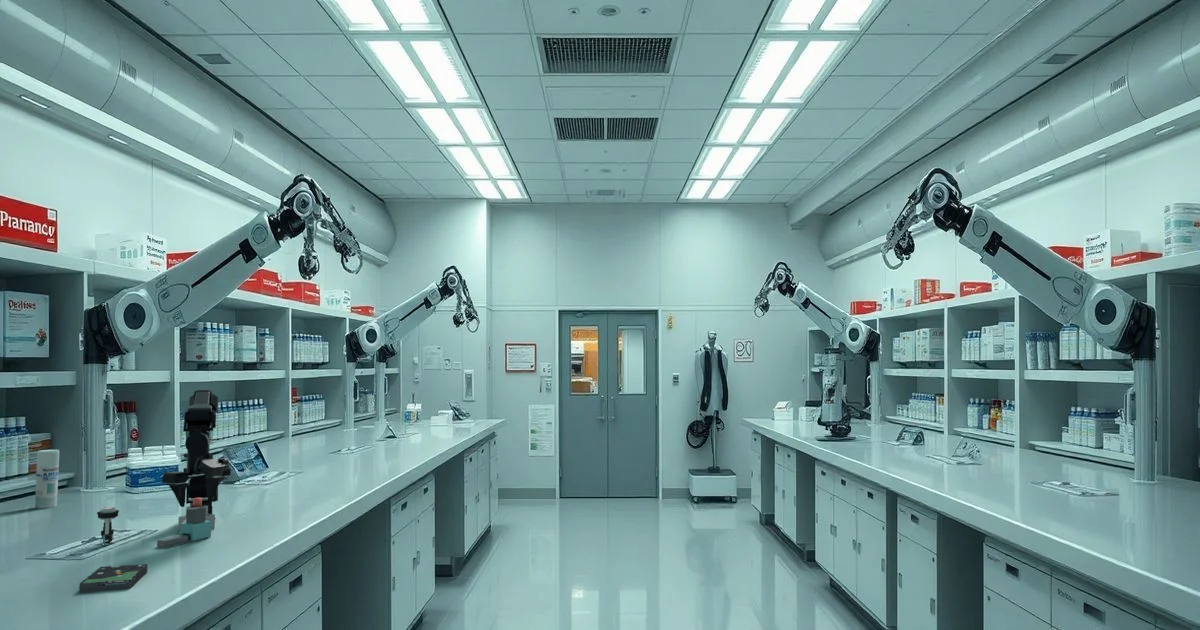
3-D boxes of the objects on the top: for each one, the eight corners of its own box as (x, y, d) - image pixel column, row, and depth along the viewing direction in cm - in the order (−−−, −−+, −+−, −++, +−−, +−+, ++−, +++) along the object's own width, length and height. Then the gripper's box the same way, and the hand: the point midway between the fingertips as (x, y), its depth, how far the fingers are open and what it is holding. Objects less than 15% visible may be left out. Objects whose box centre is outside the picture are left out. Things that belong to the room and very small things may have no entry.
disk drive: (98, 578, 183) (78, 595, 169) (99, 566, 183) (78, 582, 169) (147, 574, 186) (131, 591, 172) (148, 563, 186) (131, 578, 172)
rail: (164, 548, 210) (164, 540, 210) (156, 547, 211) (157, 539, 211) (210, 536, 224) (211, 530, 224) (203, 536, 225) (203, 529, 225)
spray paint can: (50, 504, 275) (52, 449, 276) (61, 506, 272) (63, 450, 273) (30, 507, 269) (33, 451, 270) (41, 509, 266) (44, 451, 268)
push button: (116, 545, 213) (118, 509, 214) (94, 547, 211) (95, 511, 211) (118, 540, 219) (119, 505, 220) (96, 542, 217) (98, 507, 217)
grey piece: (177, 532, 230) (178, 507, 231) (198, 527, 237) (199, 503, 238) (193, 534, 228) (194, 509, 228) (214, 529, 234) (215, 505, 235)
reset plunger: (191, 506, 232) (191, 498, 233) (197, 505, 235) (198, 497, 235) (196, 507, 231) (196, 499, 232) (203, 506, 234) (203, 497, 234)
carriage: (192, 540, 217) (193, 510, 218) (179, 539, 219) (180, 509, 220) (210, 536, 223) (211, 507, 223) (197, 534, 225) (198, 505, 225)
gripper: (189, 454, 211) (187, 511, 210) (244, 448, 228) (243, 500, 227) (161, 453, 215) (159, 508, 214) (217, 446, 232) (216, 498, 231)
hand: (196, 504), depth 221 cm, fingers open, 9 cm apart
